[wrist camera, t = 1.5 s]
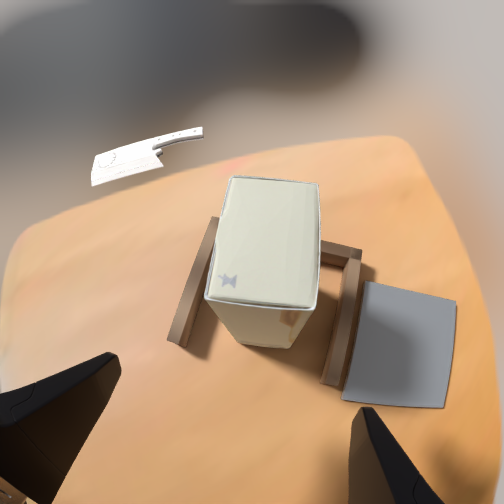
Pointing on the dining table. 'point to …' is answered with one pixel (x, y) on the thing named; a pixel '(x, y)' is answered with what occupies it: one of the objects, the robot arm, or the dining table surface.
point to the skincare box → (266, 260)
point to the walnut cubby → (329, 255)
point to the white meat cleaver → (137, 156)
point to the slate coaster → (401, 348)
